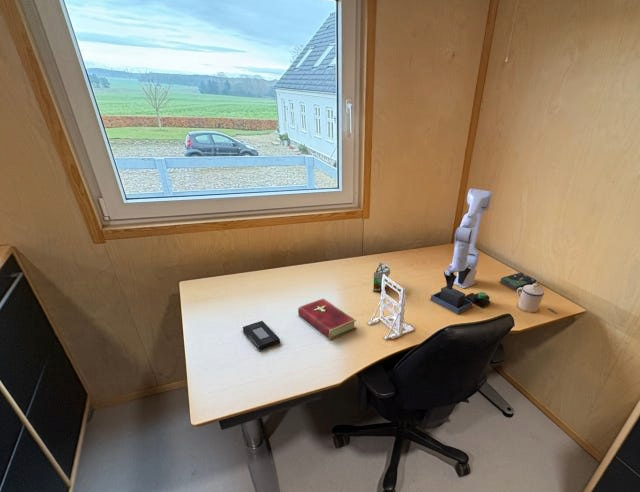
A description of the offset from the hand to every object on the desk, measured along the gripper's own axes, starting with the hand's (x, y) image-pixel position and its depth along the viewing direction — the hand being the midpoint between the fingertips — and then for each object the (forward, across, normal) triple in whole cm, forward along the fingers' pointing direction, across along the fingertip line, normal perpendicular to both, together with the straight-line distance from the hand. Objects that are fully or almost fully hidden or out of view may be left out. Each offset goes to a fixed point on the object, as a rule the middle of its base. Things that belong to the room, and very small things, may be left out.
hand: (454, 286), depth 154 cm
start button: (+6, -11, +8) cm, 14 cm away
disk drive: (+9, -43, +8) cm, 45 cm away
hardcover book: (+9, +52, -21) cm, 57 cm away
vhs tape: (+9, +76, -27) cm, 81 cm away
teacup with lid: (+9, -25, +22) cm, 35 cm away
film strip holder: (+9, +34, -3) cm, 35 cm away
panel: (+9, -11, +6) cm, 15 cm away
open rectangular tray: (+9, 0, 0) cm, 9 cm away
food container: (+9, +15, -29) cm, 34 cm away
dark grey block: (+8, 0, 0) cm, 8 cm away
